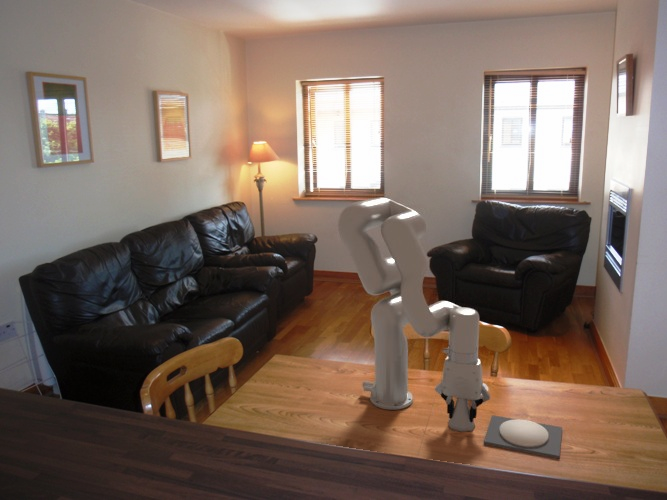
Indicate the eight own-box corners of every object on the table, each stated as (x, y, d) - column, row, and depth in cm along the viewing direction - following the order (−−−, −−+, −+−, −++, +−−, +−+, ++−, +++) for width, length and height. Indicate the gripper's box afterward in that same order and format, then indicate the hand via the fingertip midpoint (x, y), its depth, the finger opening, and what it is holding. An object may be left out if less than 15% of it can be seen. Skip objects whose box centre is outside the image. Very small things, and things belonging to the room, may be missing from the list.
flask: (475, 433, 151) (476, 399, 149) (447, 431, 153) (448, 397, 151) (474, 419, 158) (475, 386, 156) (447, 417, 160) (448, 384, 158)
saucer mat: (483, 444, 147) (483, 438, 146) (491, 417, 159) (492, 412, 159) (559, 458, 140) (559, 453, 139) (561, 430, 152) (562, 424, 152)
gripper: (427, 355, 151) (427, 418, 155) (494, 365, 144) (491, 430, 148) (434, 345, 158) (433, 405, 162) (498, 353, 151) (496, 416, 155)
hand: (461, 417), depth 155 cm, fingers closed on flask, 4 cm apart
